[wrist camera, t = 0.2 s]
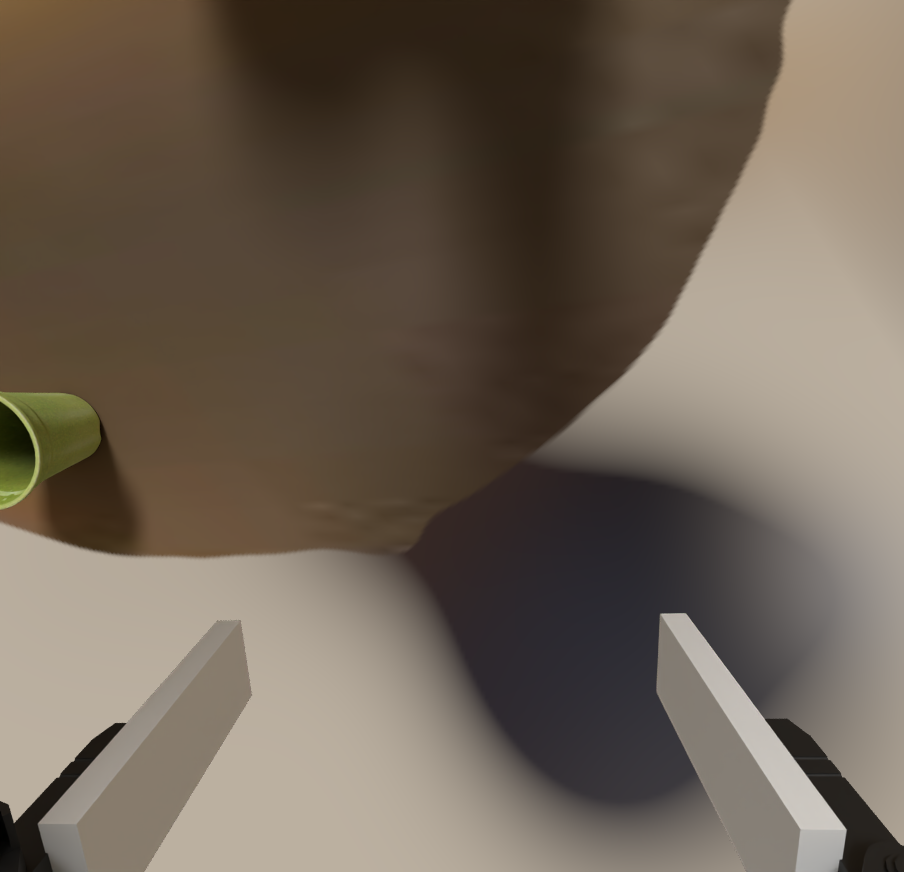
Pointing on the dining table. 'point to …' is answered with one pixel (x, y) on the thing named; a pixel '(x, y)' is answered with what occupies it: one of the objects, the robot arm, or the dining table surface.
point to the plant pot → (42, 439)
